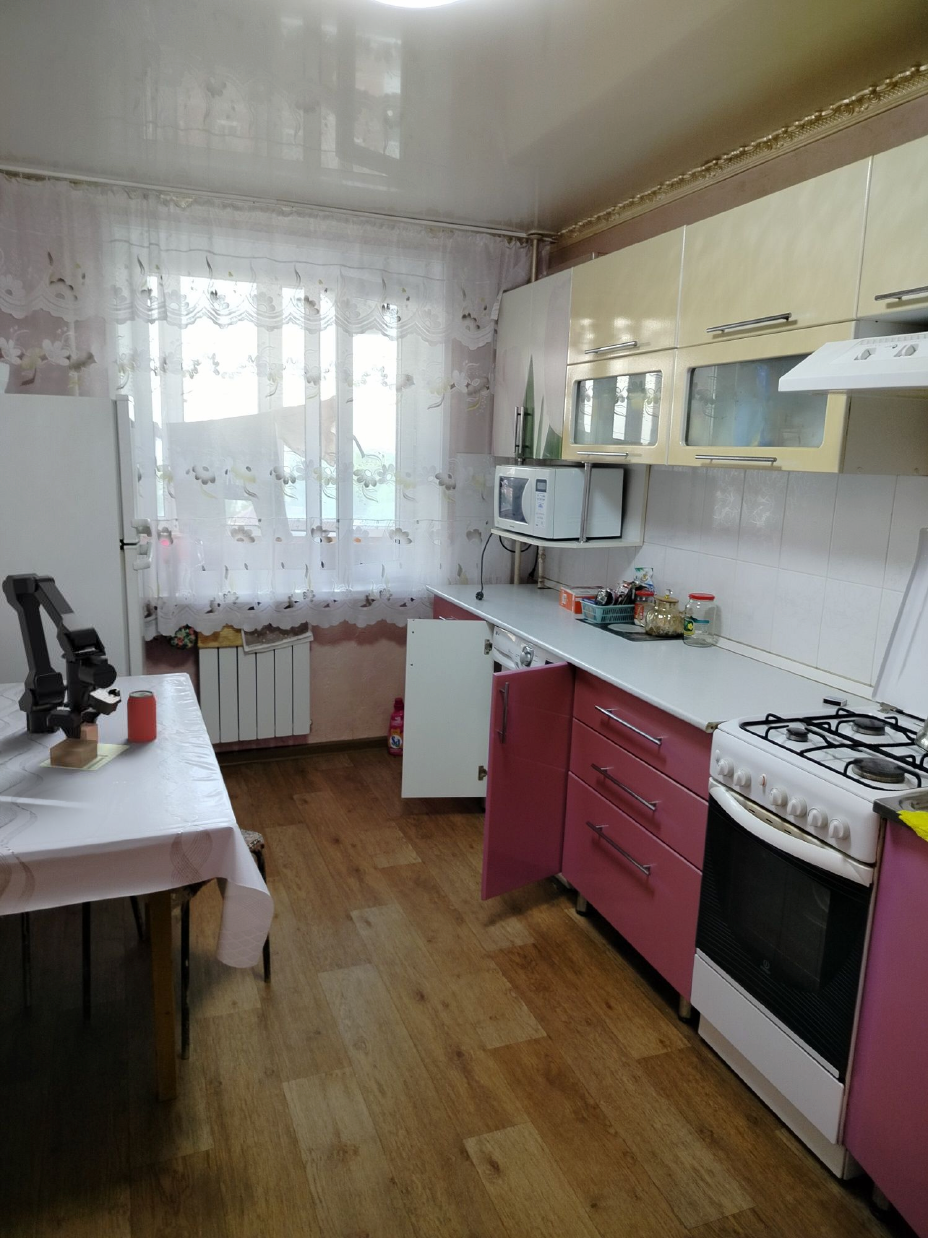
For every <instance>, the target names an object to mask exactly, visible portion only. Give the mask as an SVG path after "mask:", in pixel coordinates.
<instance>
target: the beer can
mask: <svg viewBox="0 0 928 1238" xmlns="http://www.w3.org/2000/svg"><path fill="white" fill-rule="evenodd" d="M126 719H127V721H126V722H127V723H126V724H127V740H128V741H129V742H132V743H148V742H152V741H154V740H156V739H157V735H158V734H157V733H158V732H157V731H158V730H157V726H158V725H157V700H156V697H155V695H154V692H153V691H152V690H148V689H147V690H144V689H143V690H134V691H131V692H129V695H128V699H127V701H126Z"/></svg>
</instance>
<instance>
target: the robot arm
mask: <svg viewBox="0 0 928 1238" xmlns="http://www.w3.org/2000/svg"><path fill="white" fill-rule="evenodd" d="M55 581H56V580H55V578H54V577H53V576H52V575H48V574H46V575H39V574H37V573H35V572H32V573H22V574H21V573H20V574H19V573H18V574H8V575H7V576H6V577H5V579H4V580H3V581H2V584H1V587H2V588H1V590H2V592H3V593H4V595H5V598H6V601H7V603H8V605H9V606H10V607H11V608H12V609H13V610H15V612H16V614H17V619H18V622H19V629H20V633H21V637H22V642H23V647H24V652H25V658H26V663H27V666H28V673H27V675H26V678H25V681H24V684H23V685H24V692H23V694H22V695H21V696H20V698H19V700H18V701H17V702H18V707H19V710H20V711H21V712H24V713H25V718H26V721H25V722H26V731H27V732H30V733H32V734H37V735H39V734H42V735H43V734H52V733H53V734H55V733H56V732H59V731H60V730H61V731H62V732H63V733H64V735H65V738H66V737H67V738H74V739H80V734H81V727H82V726H83V725H84V724H85V723H94V724H97V721H98V718H99V717H100V716H101V715H103V716H110V715H111V714H113V712H116V711H117V710H118V709H117V708H118V705H119V704H121V702H122V701H123V700H122V696H121V691H120V688H117V687H113V688H110V687H112V686H113V685H114V683H115V682H116V680H117V676H118V674H117V673H118V671H117V670H116V668H115V667H114V665H113V664H111V663H109V659H108V658H107V657H106V656H107V652H106V650H105V649H106V647H105V645H104V644H103V642H102V640H101V638H100V636H99V633H98V631H97V630H96V628H95V627H94V626H93V625H92V624H91V622H89V620H87V619H85V618H83V617H80V616H78V615H77V613H76V612H75V611H74V609H72V606H71V605H70V604H69V602H68V601H67V600H66V599H67V598H65V597H64V595H63V594H62V592H61V590H59V587H57V585H56V582H55ZM41 606H42V608H43V609H44V610H45V612H46V614H47V615H48V617H49V618H50V620H51V622H53V624H54V626H55V627H56V630H57V632H56V640H57V641H58V644H59V647H60V648H61V650H62V651H63V653H62V654H61V659H63V660H65V673H66V675H65V677H66V684H64V679H63V678H64V677H63V674H62V673H61V672H60V671H56V670H55V668H53V667H52V663H51V659H50V654H49V649H48V643H47V641H46V640H47V639H46V634H45V630H44V625H43V621H42V620H43V619H42V615H41V610H40V607H41ZM108 688H110V689H109V690H108V691H107V690H106V689H108ZM65 699H66V700H67V701H65ZM60 708H64V709H60ZM65 708H67V709H65Z"/></svg>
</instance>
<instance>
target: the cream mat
mask: <svg viewBox="0 0 928 1238" xmlns="http://www.w3.org/2000/svg"><path fill="white" fill-rule="evenodd" d="M128 748H130V745H124V744H112V743H101V742H98V745H97V756H98V757H97V758H96V759H94V760H93V761H91V762H90V763H88V764H87V765H85V766H84V767H82V768H72V767H60V766H51V765H50V758H49V759H46V760H45V761H44V762H42V763H40V764H38V767H48V768H49V767H50V768H61V769H73V770H74V769H75V770H84V771H97V770H99V769H100V768H102V767H103V766H104V765H106V764H107V763H108V762H110V761H111V760H112V759H114V758H115V757H117V756H118V755H120V754H121V753H122V752H124V751H125V750H126V749H128Z"/></svg>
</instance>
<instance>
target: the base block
mask: <svg viewBox="0 0 928 1238" xmlns="http://www.w3.org/2000/svg"><path fill="white" fill-rule="evenodd" d="M97 757H98V756H97V740H87V739H74V738H66V737H65V739H63V740H62V741H59V742H57V744H55V745H53V746H51V747H49V759H50V765H51V766H60V767H72V768H82V767H84V766H85V765H87V764H88V763H90V762H91V761H93V760H94V759H96V758H97Z"/></svg>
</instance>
